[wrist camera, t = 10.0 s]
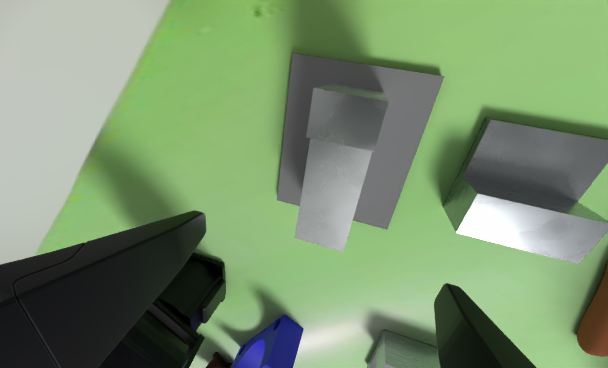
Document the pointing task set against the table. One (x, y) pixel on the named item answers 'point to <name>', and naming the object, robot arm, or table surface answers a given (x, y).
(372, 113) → the steel bar
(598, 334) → the kitchen knife
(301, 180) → the mat
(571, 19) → the table surface
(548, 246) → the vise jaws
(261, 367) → the blue stepped block
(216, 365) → the mate gourd
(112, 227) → the table surface
